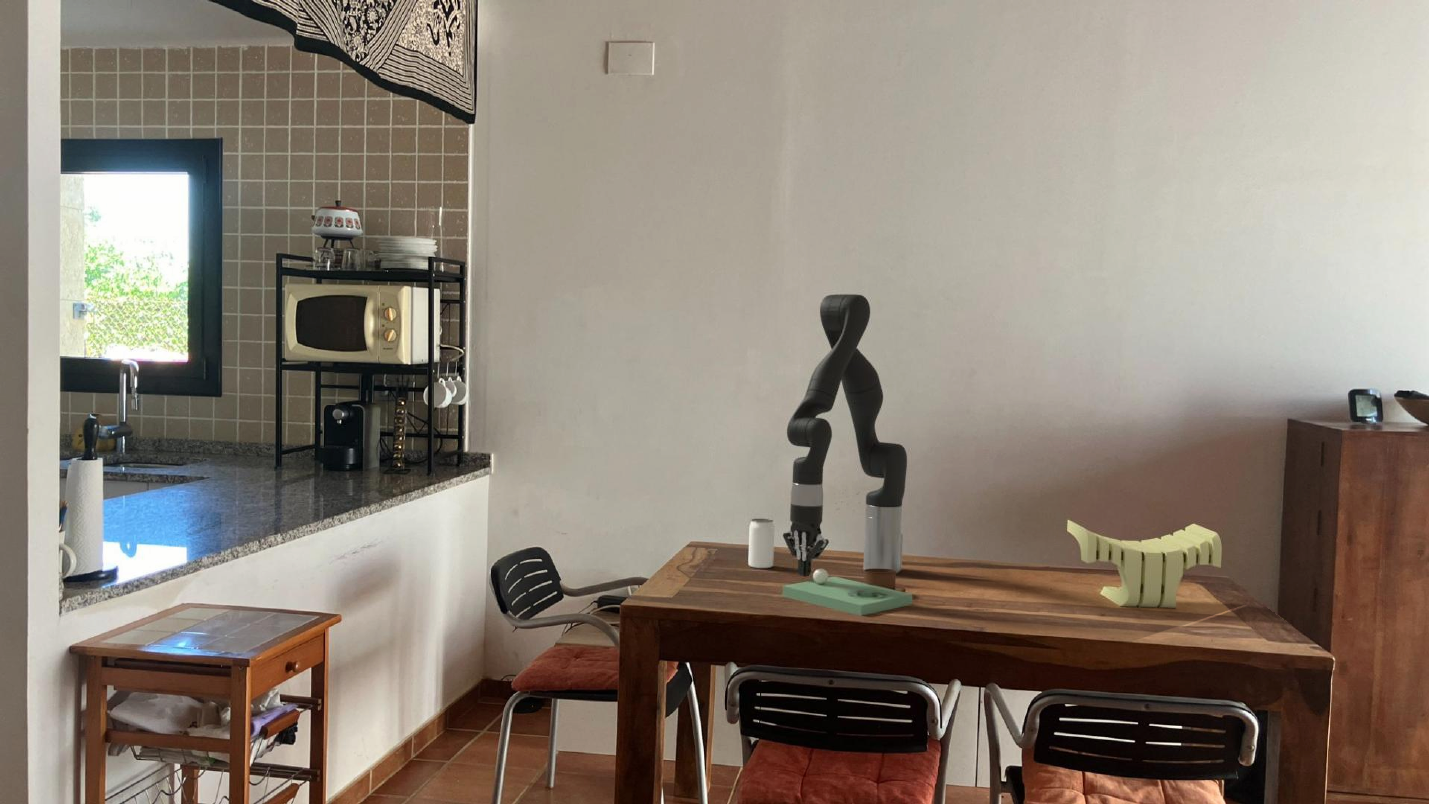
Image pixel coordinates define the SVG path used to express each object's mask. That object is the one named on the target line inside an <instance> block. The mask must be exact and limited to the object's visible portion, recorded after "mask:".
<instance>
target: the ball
mask: <svg viewBox="0 0 1429 804" xmlns="http://www.w3.org/2000/svg"><path fill="white" fill-rule="evenodd" d="M812 578H813V579H812V580H814V581H815V582H816V583H818V584H823V583H825V582H826V581H827V580H828V578H829V573H828V571H827V570H825V569H824V568H817V569H816V570H815V571H814V572H813V573H812Z"/></svg>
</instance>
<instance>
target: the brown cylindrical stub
mask: <svg viewBox="0 0 1429 804" xmlns="http://www.w3.org/2000/svg"><path fill="white" fill-rule="evenodd" d="M896 574H897V573H896V571H895V570H891V569H878V568H875V569H865V570H863V583H865V584H868V585H873V586H878V587H883V588H887V589H891V590H896V591H900V592H905V593H906V588H905V587H902V586H897V585H896V579H897V578H896V577H897V575H896Z"/></svg>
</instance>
